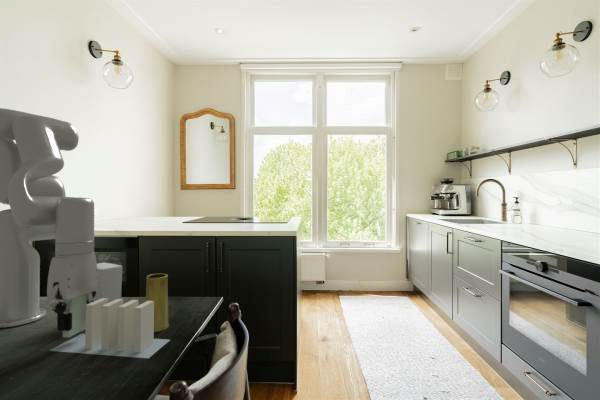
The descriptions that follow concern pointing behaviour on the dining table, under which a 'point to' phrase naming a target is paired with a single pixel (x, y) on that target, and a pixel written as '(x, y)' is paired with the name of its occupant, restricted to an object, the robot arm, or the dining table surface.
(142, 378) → the dining table surface
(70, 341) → the runner mat
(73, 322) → the sage green rectangular block
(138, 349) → the tile
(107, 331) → the tile
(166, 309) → the vase
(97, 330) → the tile
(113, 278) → the skincare box
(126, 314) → the tile
